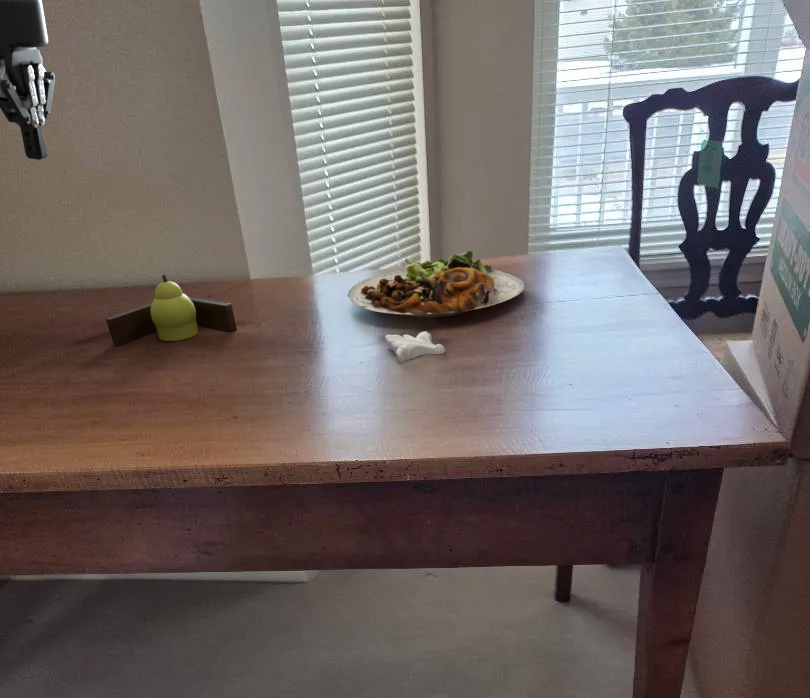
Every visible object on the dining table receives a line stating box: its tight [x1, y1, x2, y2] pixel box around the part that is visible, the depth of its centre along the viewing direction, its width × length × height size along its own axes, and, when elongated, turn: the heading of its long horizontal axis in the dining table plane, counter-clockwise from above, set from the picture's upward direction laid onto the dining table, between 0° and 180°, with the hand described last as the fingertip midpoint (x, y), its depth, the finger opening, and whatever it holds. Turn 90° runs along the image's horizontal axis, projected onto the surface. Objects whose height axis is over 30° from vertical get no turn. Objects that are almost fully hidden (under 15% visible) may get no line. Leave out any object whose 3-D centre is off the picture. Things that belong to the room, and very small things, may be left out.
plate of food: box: [347, 250, 526, 318], centre depth 115 cm, size 28×28×6 cm
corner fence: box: [105, 296, 237, 346], centre depth 110 cm, size 13×13×4 cm
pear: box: [151, 274, 199, 342], centre depth 110 cm, size 7×7×9 cm
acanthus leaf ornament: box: [384, 331, 446, 364], centre depth 98 cm, size 8×7×2 cm
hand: (37, 158), depth 96 cm, fingers closed
